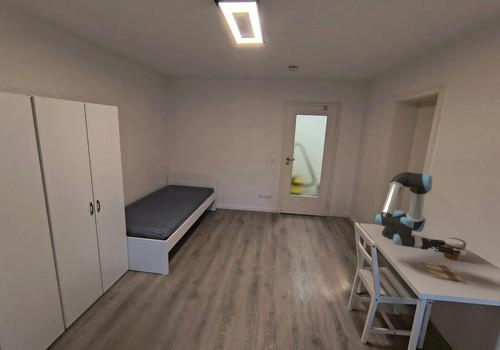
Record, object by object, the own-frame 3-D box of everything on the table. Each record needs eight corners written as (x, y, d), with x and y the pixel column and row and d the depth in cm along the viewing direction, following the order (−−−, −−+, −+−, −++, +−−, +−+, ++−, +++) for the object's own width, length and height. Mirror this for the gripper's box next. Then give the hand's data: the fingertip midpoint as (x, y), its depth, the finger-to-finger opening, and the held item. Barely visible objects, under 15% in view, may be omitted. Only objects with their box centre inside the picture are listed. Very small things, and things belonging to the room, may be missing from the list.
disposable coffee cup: (437, 253, 153) (441, 237, 151) (451, 254, 153) (455, 237, 150) (448, 261, 144) (453, 244, 141) (464, 262, 143) (468, 245, 141)
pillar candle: (444, 252, 176) (448, 234, 173) (461, 256, 171) (465, 238, 168) (445, 258, 169) (450, 239, 166) (463, 262, 163) (468, 243, 160)
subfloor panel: (422, 262, 161) (422, 261, 161) (449, 267, 157) (449, 266, 156) (433, 277, 145) (433, 276, 145) (464, 283, 141) (464, 281, 140)
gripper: (413, 240, 162) (451, 246, 156) (425, 256, 143) (470, 263, 136) (415, 231, 161) (453, 236, 155) (428, 245, 141) (473, 252, 135)
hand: (461, 249), depth 145 cm, fingers closed on disposable coffee cup, 8 cm apart
